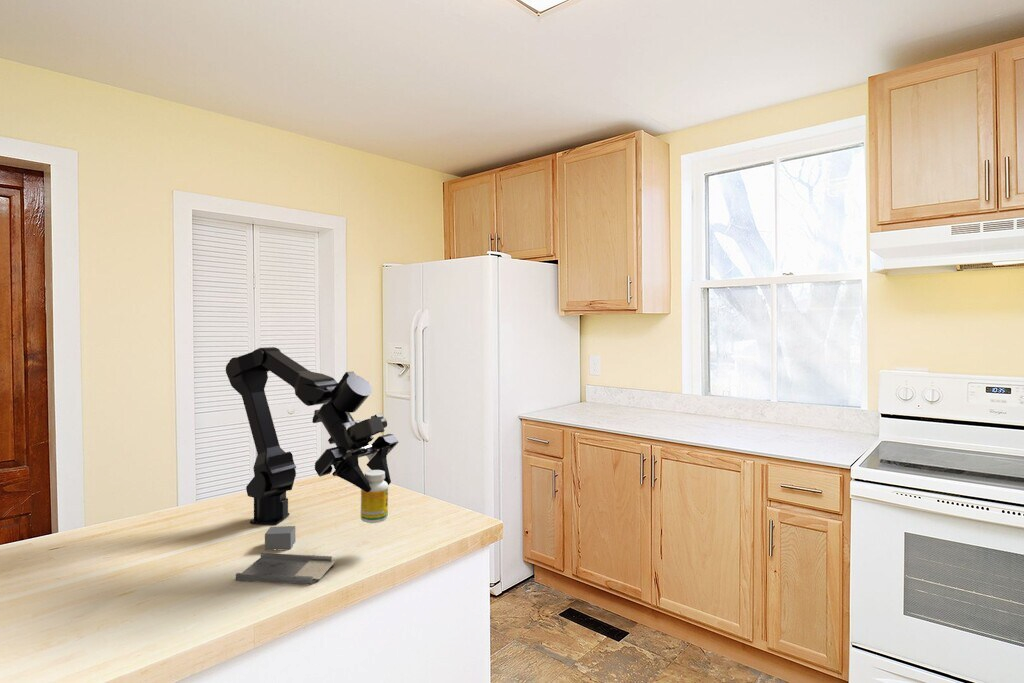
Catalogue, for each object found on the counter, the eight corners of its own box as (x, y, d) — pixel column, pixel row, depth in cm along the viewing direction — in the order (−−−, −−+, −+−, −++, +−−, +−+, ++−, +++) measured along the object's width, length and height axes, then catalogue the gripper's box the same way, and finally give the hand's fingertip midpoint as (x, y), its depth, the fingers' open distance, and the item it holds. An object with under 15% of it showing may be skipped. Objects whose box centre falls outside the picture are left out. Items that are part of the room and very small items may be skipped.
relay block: (264, 551, 113) (264, 534, 113) (270, 543, 117) (270, 526, 117) (290, 550, 113) (290, 533, 113) (295, 542, 117) (295, 525, 117)
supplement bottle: (358, 516, 115) (359, 470, 114) (384, 512, 117) (385, 467, 116) (363, 525, 110) (363, 477, 109) (390, 521, 112) (391, 474, 112)
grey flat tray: (235, 580, 100) (235, 573, 100) (261, 559, 109) (261, 552, 109) (317, 584, 99) (317, 578, 99) (336, 562, 108) (336, 556, 108)
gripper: (325, 408, 106) (367, 475, 101) (392, 397, 122) (431, 454, 117) (297, 443, 110) (336, 509, 105) (365, 428, 127) (402, 484, 122)
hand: (379, 487), depth 112 cm, fingers closed on supplement bottle, 5 cm apart
